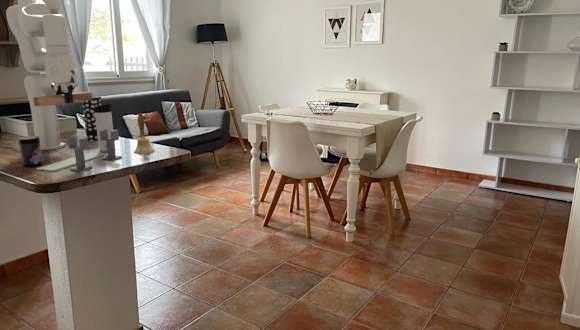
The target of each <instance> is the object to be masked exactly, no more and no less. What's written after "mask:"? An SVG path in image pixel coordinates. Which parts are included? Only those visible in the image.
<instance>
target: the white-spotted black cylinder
mask: <svg viewBox="0 0 580 330" xmlns="http://www.w3.org/2000/svg"><path fill="white" fill-rule="evenodd" d="M81 102H82V111H83V112H82V113H83V119H84V128H85V134H86V137H87V138H88V142H98V135H97V127H96V119H95V109H94V106H99V105H103V103H102V96H92V100H88V101H81Z"/></svg>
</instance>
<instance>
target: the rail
mask: <svg viewBox="0 0 580 330" xmlns="http://www.w3.org/2000/svg"><path fill="white" fill-rule="evenodd" d="M92 94H93V92H91V91H81V92H72V95H73V103H78V102H79V103H80V102H82V101H88V100H92V97H93V95H92ZM33 98H34V105H35V106H48V105H55V106H56V105H63V104H66V103H65V95H64V94H61V95H51V96H41V97H33Z"/></svg>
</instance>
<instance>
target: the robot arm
mask: <svg viewBox="0 0 580 330" xmlns="http://www.w3.org/2000/svg"><path fill="white" fill-rule="evenodd" d="M60 13H61V5H60V1H59V0H17V5H16V4H15V5H11V6H9V7H7V9H6V11H5V15H6V21H7V23H8V26H9V28H10V30H11V33H12V34H13V35H14V37H15V39H16V41H17V42H18V48H19V51H20V56H21V60H22V62H23V63H22V64H23V66H24V68H25V70H26V71H27V72H29V73H35V74H29V75H27V76H25V78H24V83H23V84H24V89H25V90H26V94H27V97H28V102H29V106H30V112H31V119H32V124H33V131H34V136H39V139H40V146H41V151H51V150H56V149H61V148H64V147H66V143H65V142H63V141H62V139H61V134H60V133H61V132H60V126H59V119H58V113H57V108H56V105H48V106H35V105H34V98H33V97H41V96H51V95H61V94H64V95H65V103H64V104H66V105H67V104H69V105H70V104H74V102H73V95H72V93H74V89H75V88H76V87H78V86H79V84H80V83H79V81H78V80H77V79H78V78H77V71H76V66H75V61H74V58H73V56H72V54H71V47H70V41H69V33H68V32H69V31H68V26H67V25H68V24H67V20H66V17H65V16H64V15H62V14H60ZM41 38H44V44H45V48H43V44H42V40H41Z"/></svg>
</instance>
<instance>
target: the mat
mask: <svg viewBox="0 0 580 330" xmlns="http://www.w3.org/2000/svg"><path fill="white" fill-rule="evenodd" d="M106 156H107V153H100V152H99V153H98V152H87V153H84V158H85V163H86V162H89V161H92V160H96V159H98V158H103V157H106ZM75 166H77V165H76V158H75V156H74V157H71V158H68V159H67V158H66V159H63V160H60V161H57V162H54V163H50V164H46V165H43V166H39V167H36V171H41V170H44V171H43V172H52V171H55V172H58V171H61V170H64V168H65V169H68V168H70V167H71V168H72V167H75ZM67 167H68V168H67ZM60 169H61V170H60ZM57 170H58V171H57Z"/></svg>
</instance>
